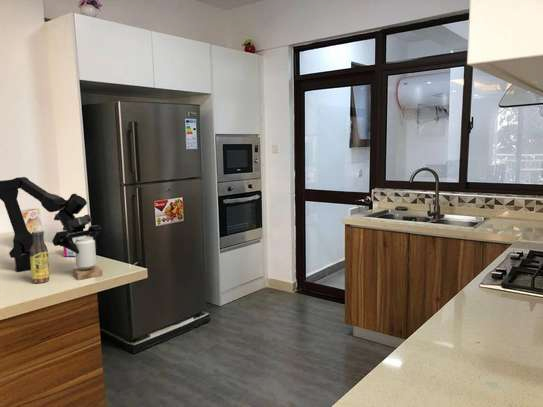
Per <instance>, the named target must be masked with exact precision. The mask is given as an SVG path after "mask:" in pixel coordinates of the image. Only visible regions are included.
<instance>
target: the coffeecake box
mask: <svg viewBox="0 0 543 407" xmlns="http://www.w3.org/2000/svg"><path fill="white" fill-rule="evenodd" d="M21 213H22V216H23V219H24V221H25V224H26V227H27V230H28V231H29V232H30V233H32V232H33V231H43V228H42V216H41V208H27V209H22V210H21ZM13 233H14V232H13ZM13 235H15V233H14V234H13Z"/></svg>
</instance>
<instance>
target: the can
mask: <svg viewBox="0 0 543 407" xmlns="http://www.w3.org/2000/svg"><path fill="white" fill-rule="evenodd" d="M75 245H76V247H77V248H78V250H79V254H77V253H75V255H76V257H75V266H76V267H77V268H80V269H87V268H92V267H94V266H95V265H96V266H97V254H96V253H97V251H96V250H97V249H96V250H95V241H94V240H93V237H86V236H81V237H80V238H77V239H76V242H75Z"/></svg>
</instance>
